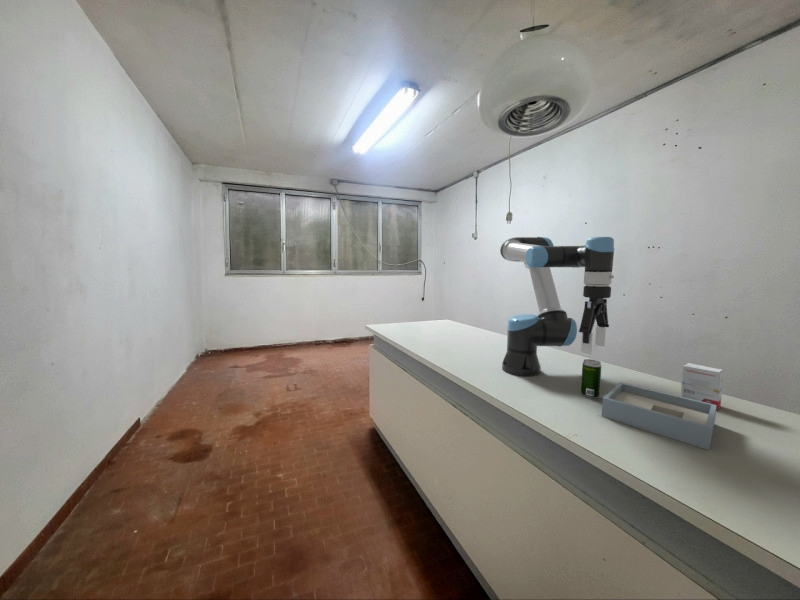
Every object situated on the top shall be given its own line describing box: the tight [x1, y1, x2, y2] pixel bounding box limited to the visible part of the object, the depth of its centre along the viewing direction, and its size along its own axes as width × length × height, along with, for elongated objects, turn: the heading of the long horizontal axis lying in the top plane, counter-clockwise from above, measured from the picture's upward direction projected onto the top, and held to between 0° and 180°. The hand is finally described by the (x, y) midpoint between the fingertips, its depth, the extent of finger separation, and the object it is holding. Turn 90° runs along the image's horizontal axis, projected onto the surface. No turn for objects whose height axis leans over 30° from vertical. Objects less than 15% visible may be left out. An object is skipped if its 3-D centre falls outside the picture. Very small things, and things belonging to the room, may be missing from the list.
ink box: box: [680, 362, 724, 410], centre depth 95 cm, size 9×5×12 cm, turn 33°
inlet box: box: [601, 381, 717, 451], centre depth 85 cm, size 22×18×6 cm
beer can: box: [580, 358, 602, 400], centre depth 101 cm, size 5×5×12 cm
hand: (593, 349), depth 100 cm, fingers open, 13 cm apart
